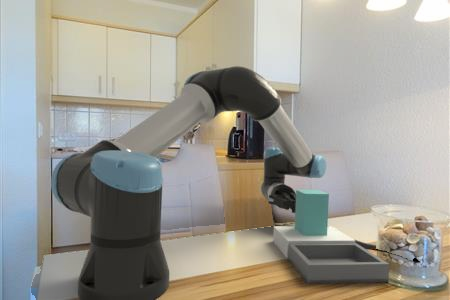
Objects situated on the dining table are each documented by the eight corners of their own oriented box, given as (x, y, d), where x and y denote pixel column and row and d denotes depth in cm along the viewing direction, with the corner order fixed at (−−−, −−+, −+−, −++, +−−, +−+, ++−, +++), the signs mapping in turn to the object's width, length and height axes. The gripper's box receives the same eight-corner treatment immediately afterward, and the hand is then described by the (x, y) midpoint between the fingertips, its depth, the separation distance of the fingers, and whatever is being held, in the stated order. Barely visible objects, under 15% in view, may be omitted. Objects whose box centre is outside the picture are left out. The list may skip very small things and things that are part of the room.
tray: (307, 283, 59) (308, 265, 59) (287, 259, 71) (288, 243, 71) (388, 282, 61) (389, 263, 61) (355, 258, 73) (356, 243, 73)
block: (303, 235, 76) (304, 193, 75) (294, 228, 82) (296, 189, 81) (327, 235, 76) (328, 194, 76) (317, 228, 82) (318, 190, 82)
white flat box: (287, 258, 71) (287, 240, 71) (273, 241, 83) (273, 226, 83) (354, 257, 73) (355, 240, 73) (331, 241, 85) (332, 226, 85)
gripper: (299, 206, 107) (331, 225, 83) (262, 206, 105) (283, 225, 82) (300, 184, 107) (332, 197, 83) (262, 183, 105) (284, 196, 82)
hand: (308, 211), depth 83 cm, fingers closed
